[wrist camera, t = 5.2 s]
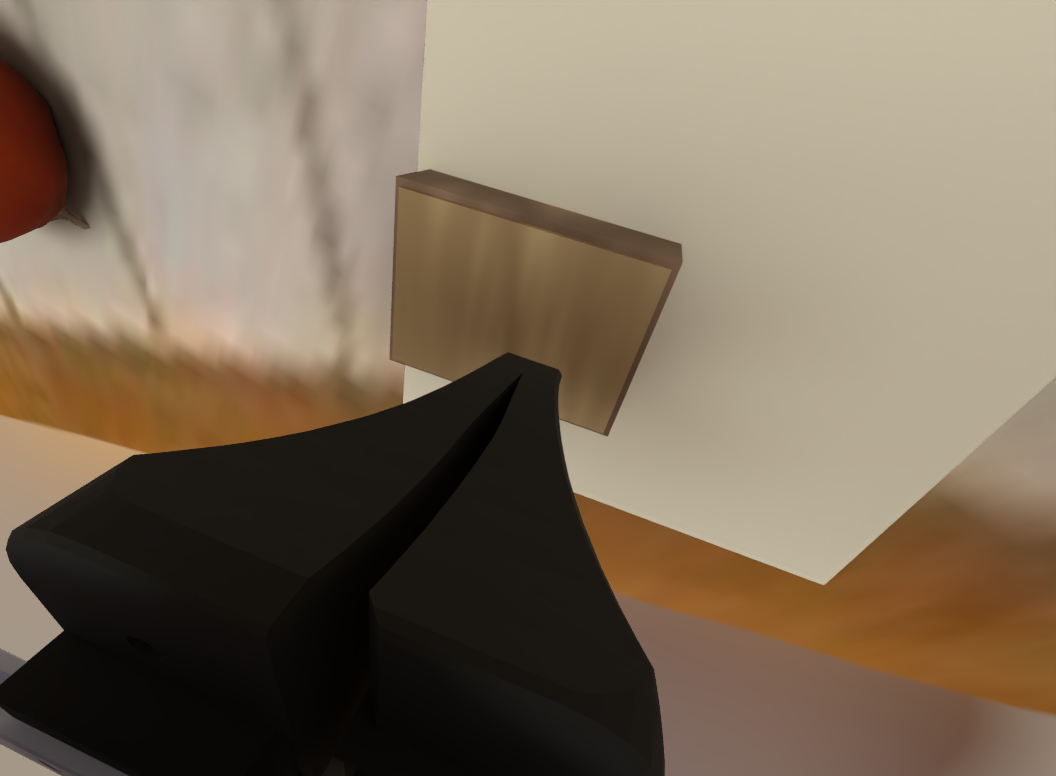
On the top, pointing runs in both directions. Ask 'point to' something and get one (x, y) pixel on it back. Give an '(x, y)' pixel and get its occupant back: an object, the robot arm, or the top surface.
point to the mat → (782, 238)
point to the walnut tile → (524, 290)
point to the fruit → (29, 160)
